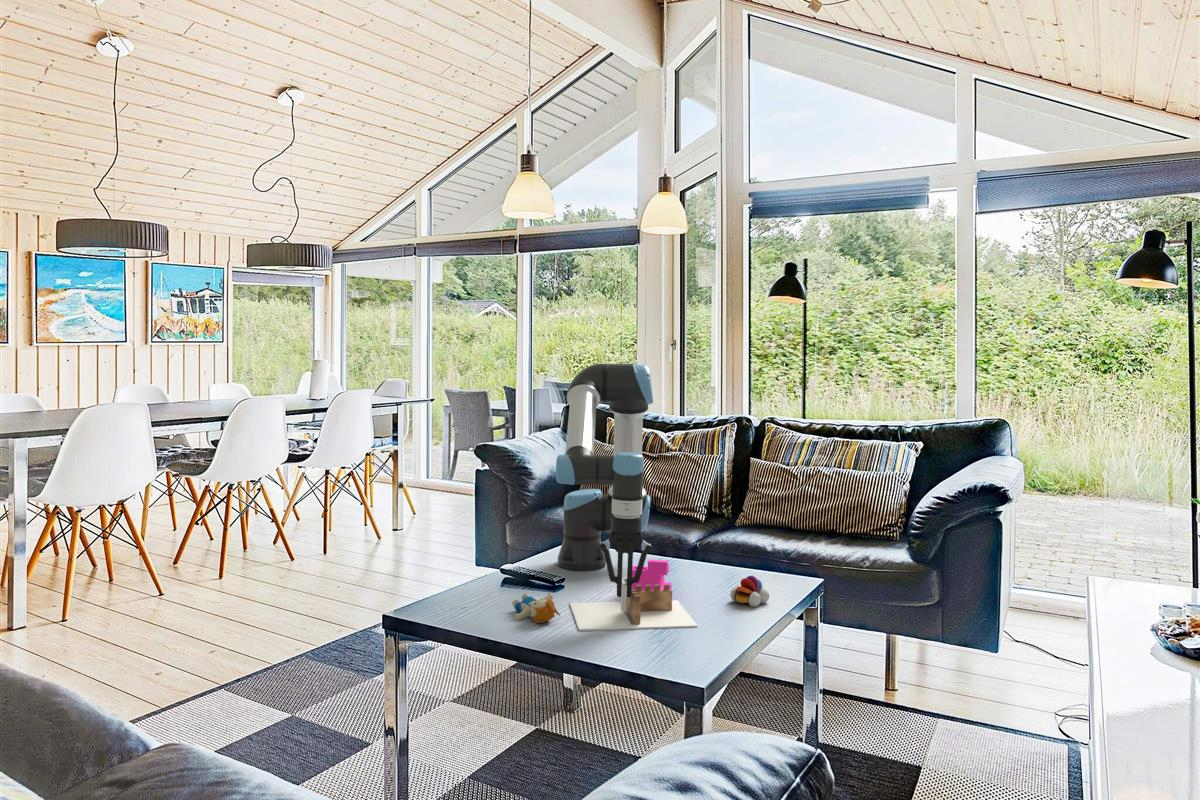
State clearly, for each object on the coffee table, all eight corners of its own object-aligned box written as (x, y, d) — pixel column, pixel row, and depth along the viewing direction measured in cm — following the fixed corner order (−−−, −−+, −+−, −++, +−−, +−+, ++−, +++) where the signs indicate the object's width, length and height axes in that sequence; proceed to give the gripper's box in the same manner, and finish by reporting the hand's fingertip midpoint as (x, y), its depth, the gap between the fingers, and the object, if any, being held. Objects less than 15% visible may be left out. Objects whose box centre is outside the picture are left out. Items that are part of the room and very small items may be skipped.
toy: (535, 581, 223) (564, 590, 210) (544, 602, 224) (573, 611, 212) (498, 605, 217) (525, 615, 204) (507, 626, 218) (534, 637, 205)
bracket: (666, 600, 229) (666, 562, 228) (628, 598, 231) (628, 560, 230) (671, 590, 240) (672, 553, 240) (635, 587, 242) (636, 551, 242)
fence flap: (624, 611, 218) (625, 585, 218) (631, 611, 219) (632, 585, 218) (634, 624, 208) (634, 597, 208) (641, 623, 209) (641, 597, 208)
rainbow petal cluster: (726, 603, 229) (726, 576, 229) (746, 596, 236) (746, 570, 236) (752, 610, 223) (753, 582, 223) (772, 602, 230) (773, 575, 230)
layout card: (570, 604, 225) (570, 602, 225) (677, 601, 229) (677, 599, 229) (579, 631, 205) (579, 629, 204) (697, 627, 209) (697, 625, 209)
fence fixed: (633, 611, 219) (634, 586, 219) (632, 610, 220) (633, 584, 220) (671, 610, 220) (672, 585, 220) (670, 608, 222) (671, 583, 221)
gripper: (600, 517, 207) (597, 613, 208) (653, 519, 206) (649, 615, 208) (601, 511, 214) (598, 604, 216) (652, 513, 214) (649, 606, 215)
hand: (623, 609), depth 212 cm, fingers closed
